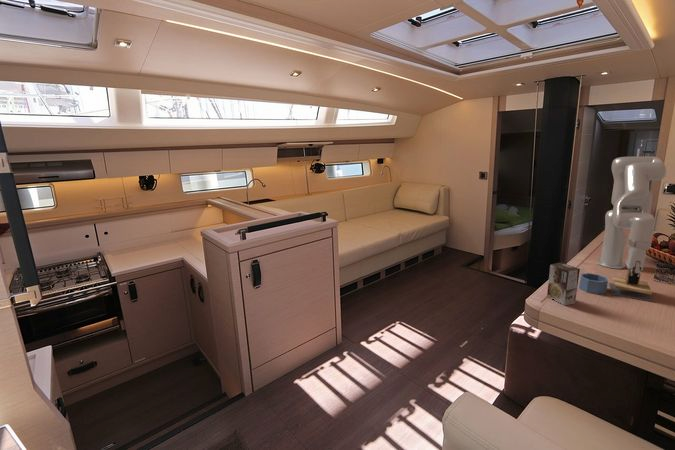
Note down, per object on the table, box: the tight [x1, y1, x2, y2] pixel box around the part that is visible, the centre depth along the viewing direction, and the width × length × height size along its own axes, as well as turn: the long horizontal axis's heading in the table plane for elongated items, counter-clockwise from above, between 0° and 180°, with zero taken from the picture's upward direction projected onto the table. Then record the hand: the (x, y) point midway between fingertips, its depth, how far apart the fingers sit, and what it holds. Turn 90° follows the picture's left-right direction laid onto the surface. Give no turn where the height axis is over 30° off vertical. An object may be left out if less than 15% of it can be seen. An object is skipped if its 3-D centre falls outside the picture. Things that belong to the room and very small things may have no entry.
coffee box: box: [546, 262, 581, 306], centre depth 143 cm, size 9×6×16 cm
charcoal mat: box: [608, 282, 655, 303], centre depth 149 cm, size 14×14×1 cm
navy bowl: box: [578, 272, 609, 295], centre depth 153 cm, size 10×10×6 cm
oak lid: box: [612, 268, 653, 295], centre depth 148 cm, size 12×12×7 cm
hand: (631, 281), depth 148 cm, fingers closed on oak lid, 4 cm apart
